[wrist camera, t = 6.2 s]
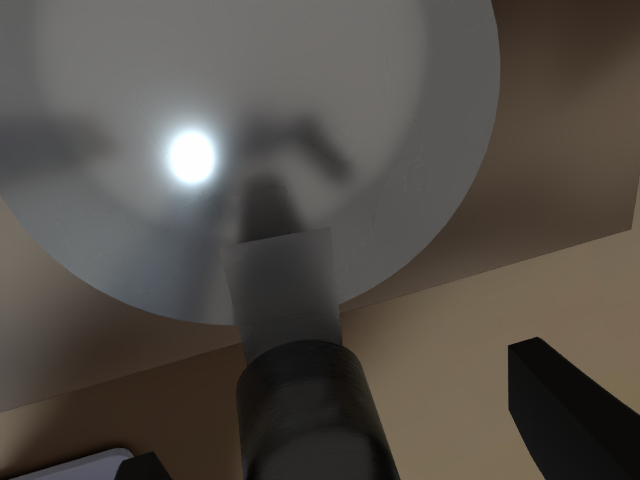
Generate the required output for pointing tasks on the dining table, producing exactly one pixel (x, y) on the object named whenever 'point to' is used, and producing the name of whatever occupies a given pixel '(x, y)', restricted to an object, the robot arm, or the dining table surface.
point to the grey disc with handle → (250, 178)
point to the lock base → (438, 256)
